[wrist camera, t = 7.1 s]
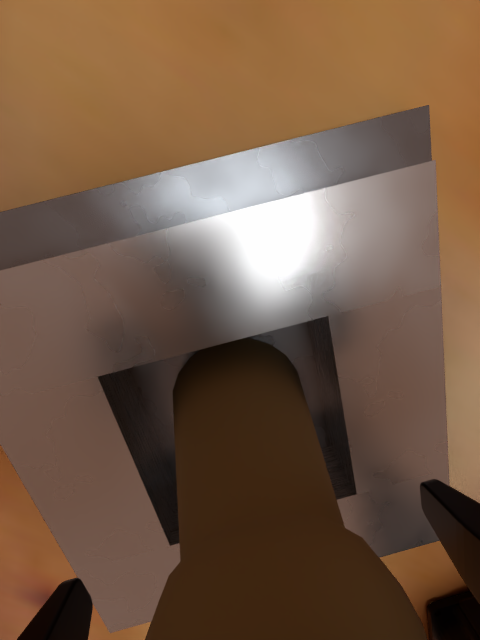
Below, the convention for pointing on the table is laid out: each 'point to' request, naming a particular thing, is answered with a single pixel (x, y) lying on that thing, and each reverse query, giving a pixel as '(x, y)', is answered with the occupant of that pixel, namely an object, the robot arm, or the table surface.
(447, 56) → the table surface
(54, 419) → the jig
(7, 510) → the table surface
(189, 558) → the cork
